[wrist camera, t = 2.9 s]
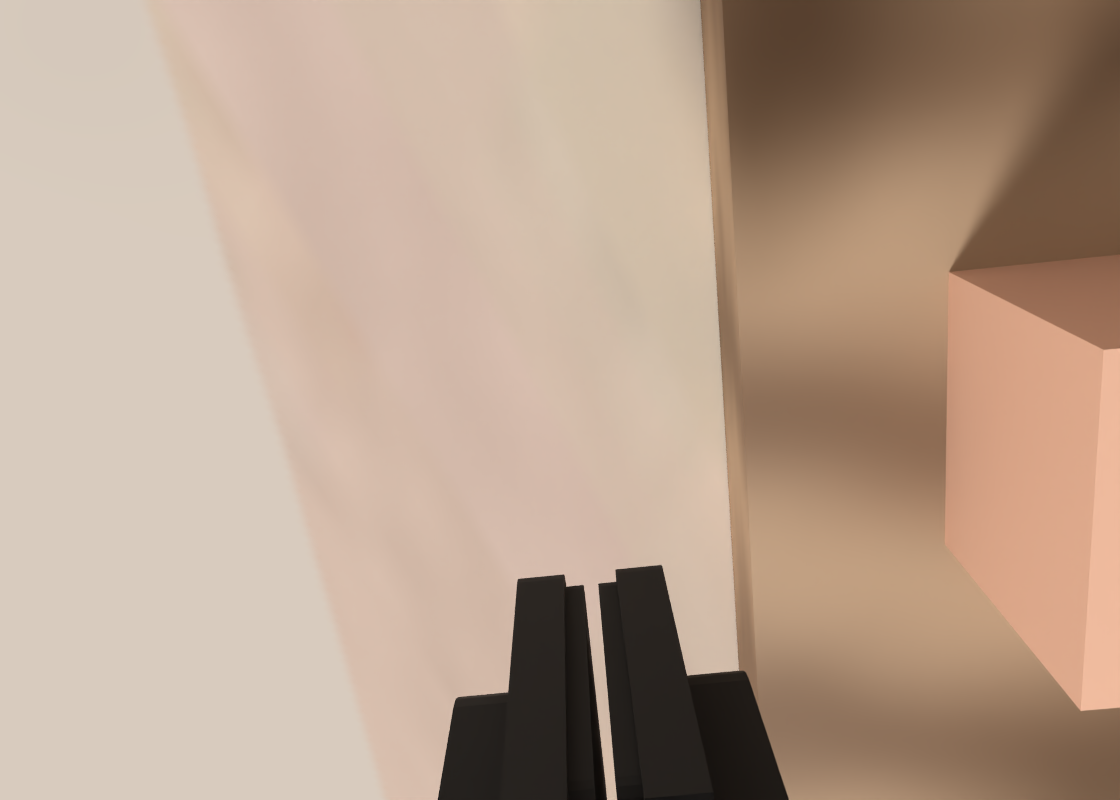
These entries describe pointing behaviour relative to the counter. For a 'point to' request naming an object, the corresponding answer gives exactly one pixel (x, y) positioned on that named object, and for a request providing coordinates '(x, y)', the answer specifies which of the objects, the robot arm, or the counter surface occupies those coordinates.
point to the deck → (891, 369)
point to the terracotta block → (1040, 459)
